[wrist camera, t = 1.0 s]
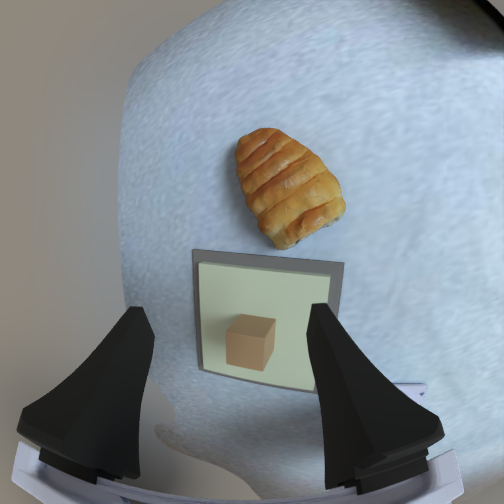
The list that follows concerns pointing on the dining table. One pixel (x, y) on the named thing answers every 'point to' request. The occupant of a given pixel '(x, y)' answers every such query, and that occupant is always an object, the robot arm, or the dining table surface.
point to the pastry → (286, 187)
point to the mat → (272, 263)
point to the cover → (258, 322)
